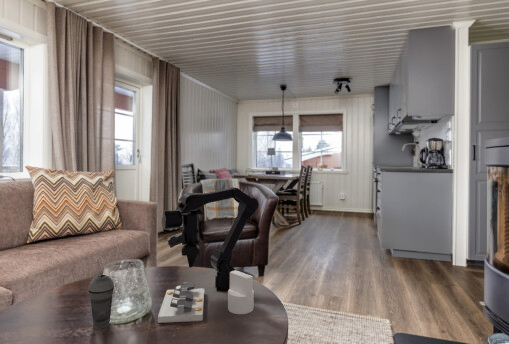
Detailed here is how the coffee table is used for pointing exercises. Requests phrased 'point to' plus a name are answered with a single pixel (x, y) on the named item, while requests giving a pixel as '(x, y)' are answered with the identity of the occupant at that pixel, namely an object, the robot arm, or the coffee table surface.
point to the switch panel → (182, 307)
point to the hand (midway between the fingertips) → (190, 267)
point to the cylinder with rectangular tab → (240, 293)
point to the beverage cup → (101, 299)
